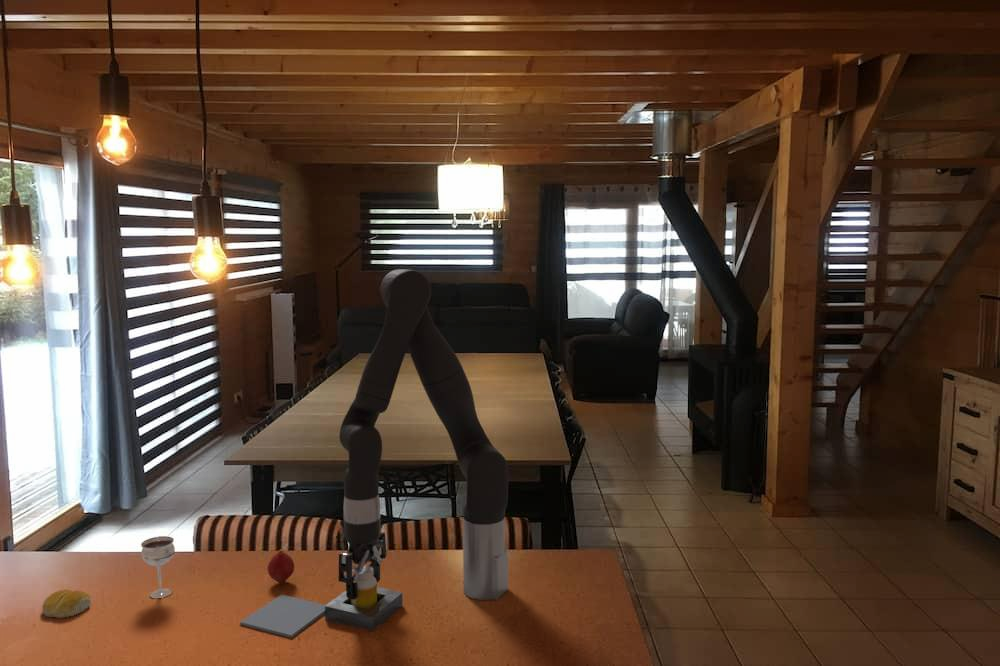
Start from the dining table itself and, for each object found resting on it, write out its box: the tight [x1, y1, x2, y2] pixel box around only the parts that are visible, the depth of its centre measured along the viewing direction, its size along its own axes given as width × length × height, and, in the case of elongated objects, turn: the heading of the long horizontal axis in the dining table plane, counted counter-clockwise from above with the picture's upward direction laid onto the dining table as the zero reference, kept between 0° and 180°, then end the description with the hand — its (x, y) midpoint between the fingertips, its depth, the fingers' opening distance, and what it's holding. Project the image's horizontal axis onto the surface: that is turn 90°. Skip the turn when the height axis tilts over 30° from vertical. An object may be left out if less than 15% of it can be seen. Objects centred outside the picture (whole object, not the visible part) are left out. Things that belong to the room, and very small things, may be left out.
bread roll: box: [41, 589, 92, 619], centre depth 166 cm, size 8×9×4 cm
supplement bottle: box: [351, 565, 378, 609], centre depth 164 cm, size 5×5×10 cm
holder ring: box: [324, 586, 403, 632], centre depth 165 cm, size 12×12×3 cm
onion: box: [267, 549, 295, 584], centre depth 178 cm, size 6×6×8 cm
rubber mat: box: [239, 594, 326, 639], centre depth 163 cm, size 13×13×1 cm
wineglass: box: [140, 535, 176, 599], centre depth 172 cm, size 7×7×12 cm
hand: (363, 589), depth 164 cm, fingers open, 8 cm apart
